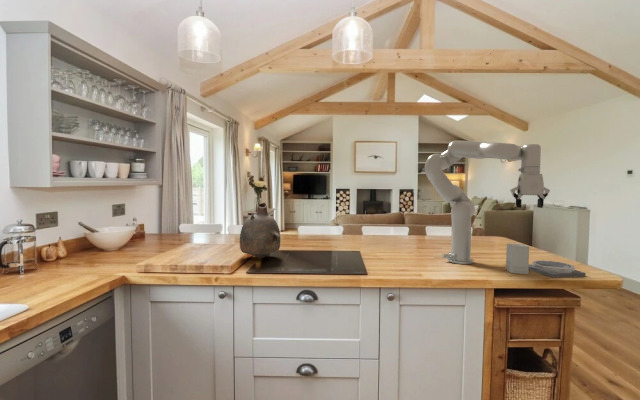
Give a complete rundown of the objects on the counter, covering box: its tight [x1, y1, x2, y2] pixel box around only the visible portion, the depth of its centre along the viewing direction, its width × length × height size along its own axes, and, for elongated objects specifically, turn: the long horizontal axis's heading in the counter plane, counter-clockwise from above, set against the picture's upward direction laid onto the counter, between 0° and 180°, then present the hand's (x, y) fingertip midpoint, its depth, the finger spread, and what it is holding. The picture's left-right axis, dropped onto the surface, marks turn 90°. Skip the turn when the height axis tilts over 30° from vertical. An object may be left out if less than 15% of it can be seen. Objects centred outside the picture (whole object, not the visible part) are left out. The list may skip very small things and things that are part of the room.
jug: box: [239, 202, 281, 259], centre depth 178 cm, size 24×21×30 cm
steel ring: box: [531, 259, 576, 273], centre depth 156 cm, size 16×16×2 cm
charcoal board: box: [528, 263, 586, 278], centre depth 156 cm, size 17×17×2 cm
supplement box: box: [505, 243, 530, 275], centre depth 155 cm, size 7×7×13 cm
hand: (529, 207), depth 157 cm, fingers open, 9 cm apart
